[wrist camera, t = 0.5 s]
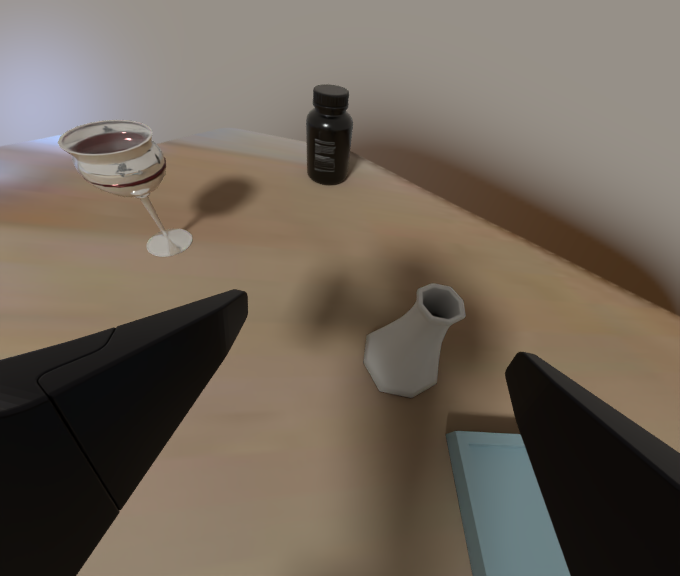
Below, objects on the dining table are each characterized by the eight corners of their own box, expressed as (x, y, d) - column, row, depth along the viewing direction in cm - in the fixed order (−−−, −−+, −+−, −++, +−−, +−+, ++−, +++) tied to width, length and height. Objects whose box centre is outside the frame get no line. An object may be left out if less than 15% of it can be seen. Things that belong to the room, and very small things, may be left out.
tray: (751, 740, 14) (804, 771, 12) (505, 744, 13) (529, 777, 11) (600, 442, 22) (621, 439, 20) (445, 434, 21) (455, 430, 20)
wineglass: (143, 226, 32) (73, 119, 23) (201, 221, 34) (158, 119, 24) (132, 265, 28) (42, 157, 19) (198, 258, 30) (145, 154, 20)
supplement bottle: (355, 177, 44) (367, 93, 34) (327, 191, 41) (332, 102, 31) (326, 161, 46) (330, 78, 37) (298, 173, 43) (294, 85, 34)
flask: (421, 323, 27) (467, 259, 19) (448, 393, 23) (520, 347, 15) (355, 329, 26) (375, 263, 18) (371, 404, 22) (405, 360, 14)
